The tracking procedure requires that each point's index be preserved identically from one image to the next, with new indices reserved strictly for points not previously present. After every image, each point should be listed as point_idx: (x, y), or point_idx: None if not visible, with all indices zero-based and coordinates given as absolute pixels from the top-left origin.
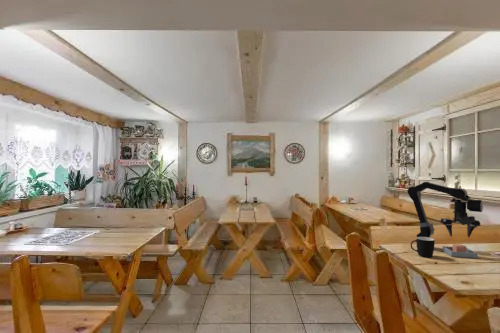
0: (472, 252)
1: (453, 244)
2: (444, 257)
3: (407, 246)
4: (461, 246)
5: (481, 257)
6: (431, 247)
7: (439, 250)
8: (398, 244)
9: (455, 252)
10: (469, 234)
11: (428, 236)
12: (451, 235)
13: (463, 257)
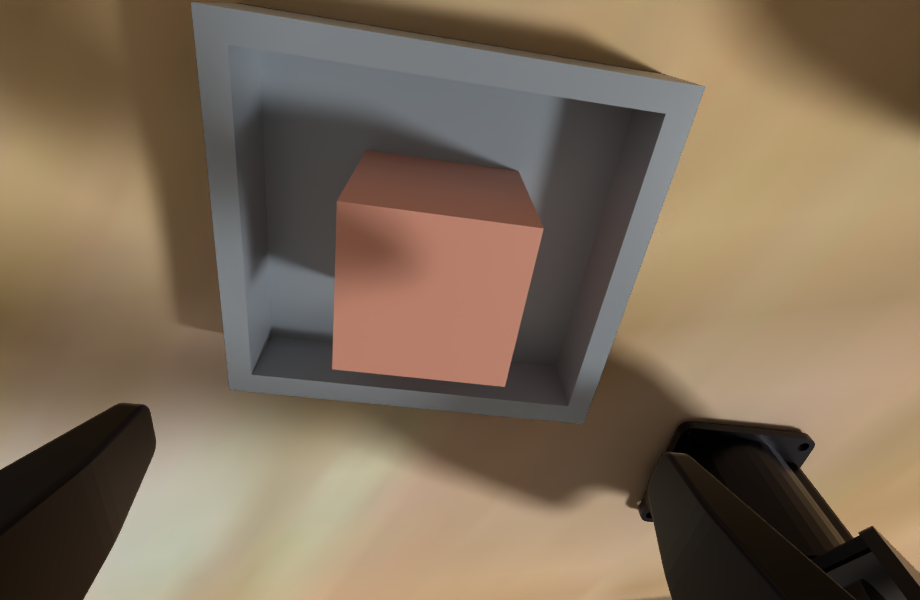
0: (241, 151)
1: (511, 357)
2: (827, 21)
3: (868, 503)
4: (441, 213)
5: (118, 118)
6: None
7: None
8: (901, 554)
9: (630, 72)
10: (56, 471)
11: (866, 586)
12: (692, 468)
13: (471, 43)
